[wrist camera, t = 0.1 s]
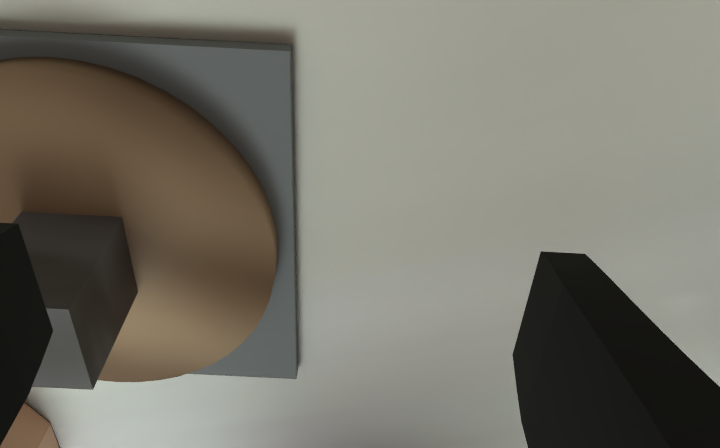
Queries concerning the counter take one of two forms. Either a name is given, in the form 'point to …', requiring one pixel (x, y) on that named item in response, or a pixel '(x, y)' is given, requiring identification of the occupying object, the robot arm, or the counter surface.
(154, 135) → the lid
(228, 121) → the mat
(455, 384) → the counter surface
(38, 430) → the bowl
